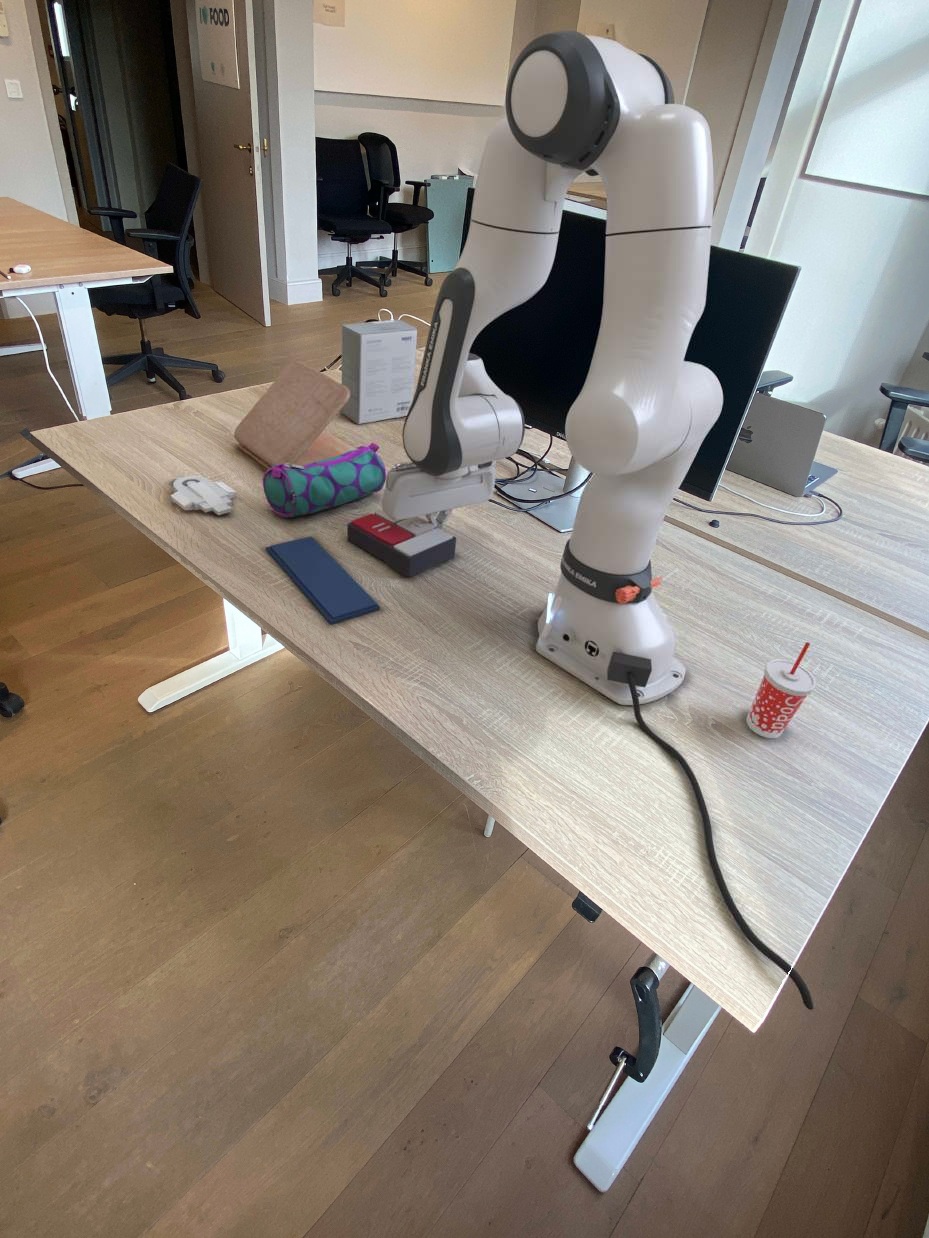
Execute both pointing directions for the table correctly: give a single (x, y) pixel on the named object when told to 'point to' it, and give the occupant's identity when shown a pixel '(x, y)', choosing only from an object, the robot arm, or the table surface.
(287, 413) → the case
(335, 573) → the flat dark blue box
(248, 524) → the table surface
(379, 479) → the pencil case
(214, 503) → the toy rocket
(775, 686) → the beverage cup
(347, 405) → the hard drive box
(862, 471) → the table surface
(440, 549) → the red and grey box
